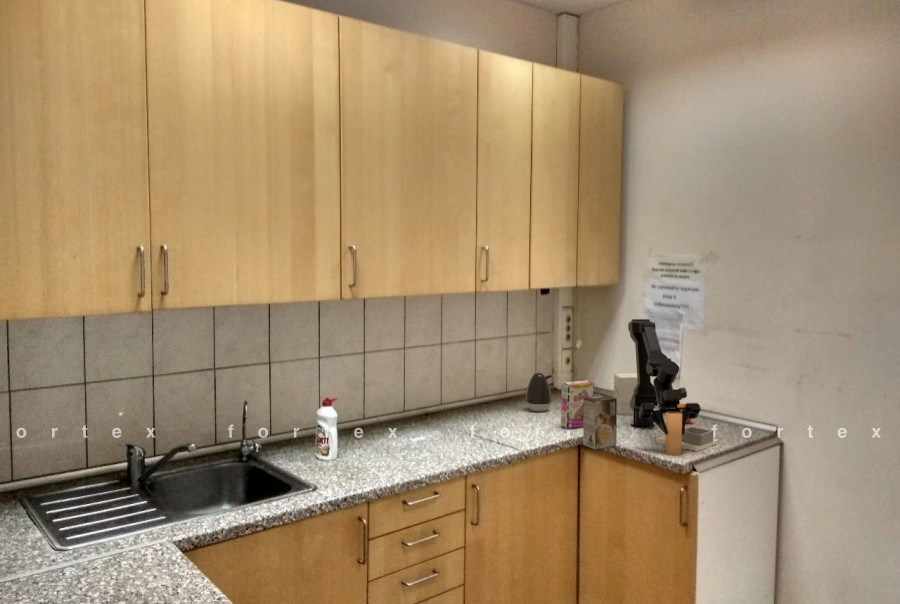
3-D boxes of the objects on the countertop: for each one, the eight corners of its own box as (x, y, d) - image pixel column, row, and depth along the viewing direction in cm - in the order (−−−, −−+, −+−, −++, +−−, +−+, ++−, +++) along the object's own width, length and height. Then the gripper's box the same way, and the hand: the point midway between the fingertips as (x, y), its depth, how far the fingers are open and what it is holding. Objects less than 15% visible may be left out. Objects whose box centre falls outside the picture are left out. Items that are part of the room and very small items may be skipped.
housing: (655, 442, 241) (656, 428, 240) (677, 434, 250) (677, 421, 250) (697, 451, 230) (697, 437, 229) (718, 443, 239) (718, 429, 239)
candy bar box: (567, 429, 257) (568, 384, 255) (560, 426, 261) (560, 382, 260) (594, 426, 261) (594, 382, 260) (586, 423, 266) (586, 379, 264)
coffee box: (604, 441, 242) (605, 394, 241) (616, 446, 236) (617, 398, 235) (582, 444, 238) (583, 397, 237) (594, 449, 232) (595, 401, 231)
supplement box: (635, 409, 287) (636, 372, 286) (641, 415, 278) (642, 377, 277) (613, 409, 287) (613, 372, 286) (618, 415, 278) (619, 377, 277)
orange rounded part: (661, 453, 229) (662, 412, 227) (670, 449, 232) (671, 410, 231) (676, 456, 225) (677, 415, 224) (684, 453, 228) (685, 413, 227)
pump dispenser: (553, 413, 281) (553, 375, 280) (526, 413, 281) (527, 375, 280) (550, 407, 291) (550, 370, 290) (524, 407, 292) (524, 370, 290)
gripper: (641, 378, 230) (651, 421, 220) (699, 378, 231) (711, 420, 220) (634, 397, 239) (643, 439, 229) (690, 397, 239) (701, 438, 229)
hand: (674, 434), depth 226 cm, fingers closed on orange rounded part, 5 cm apart
